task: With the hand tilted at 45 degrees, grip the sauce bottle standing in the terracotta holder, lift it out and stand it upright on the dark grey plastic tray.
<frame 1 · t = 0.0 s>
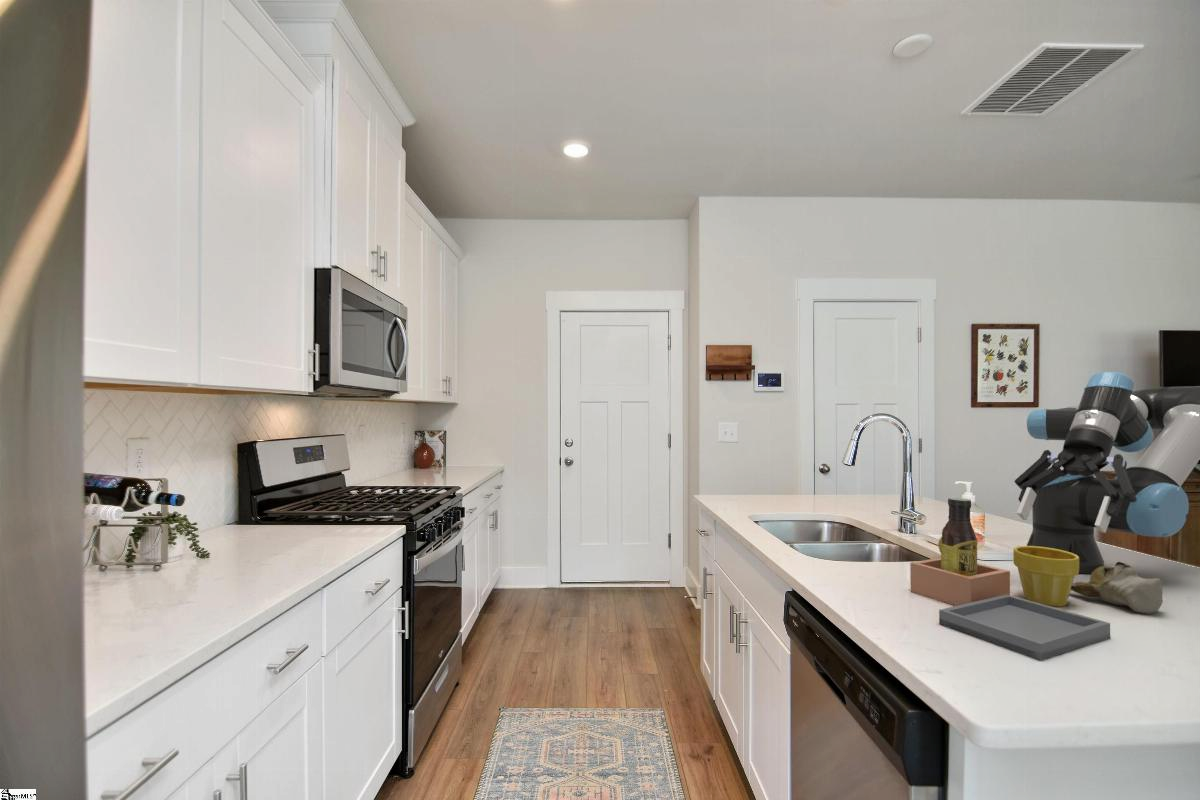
hand: (1058, 522, 114), 15 cm above the countertop, fingers open, 13 cm apart
lemon: (956, 564, 139), on the countertop
grey tray: (1022, 630, 97), on the countertop
terracotta holder: (959, 596, 115), on the countertop
sauce bottle: (959, 597, 115), resting in terracotta holder
ceramic sculpture: (1118, 605, 110), on the countertop
plant pot: (1045, 602, 112), on the countertop
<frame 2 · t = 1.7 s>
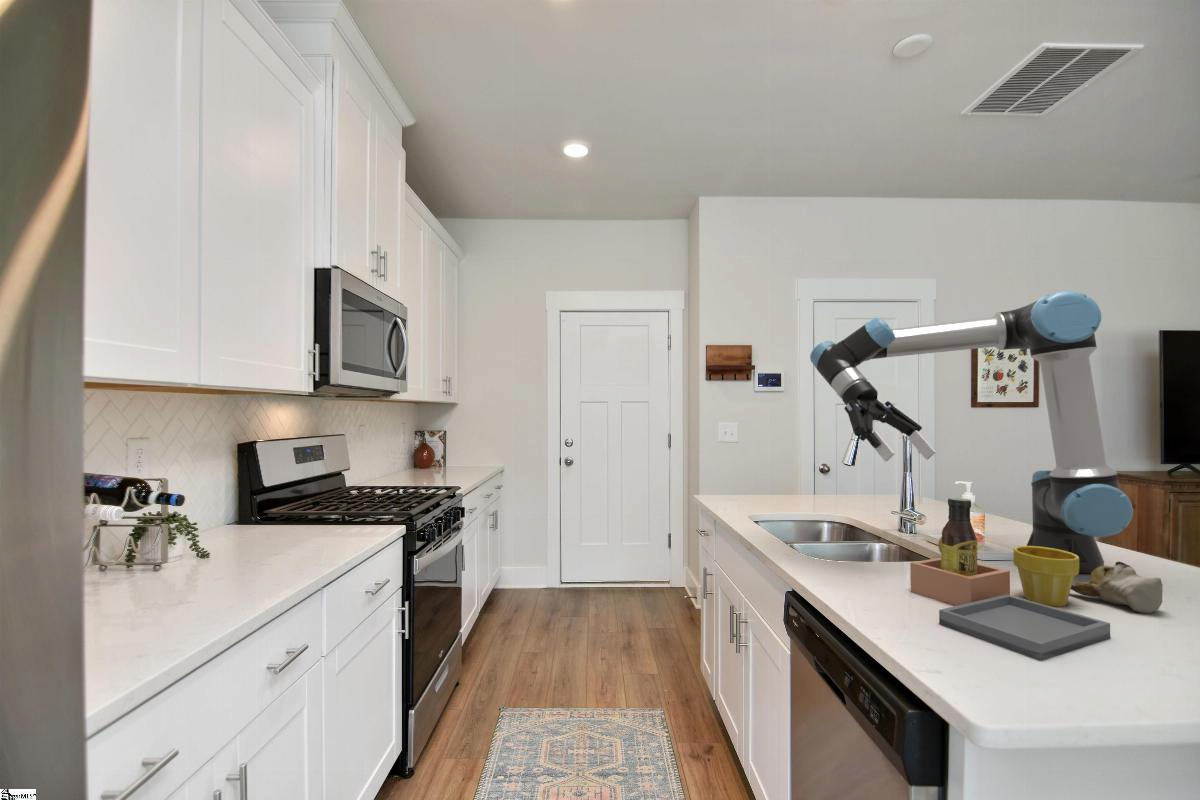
hand: (911, 456, 125), 28 cm above the countertop, fingers open, 13 cm apart
nothing on the countertop moved.
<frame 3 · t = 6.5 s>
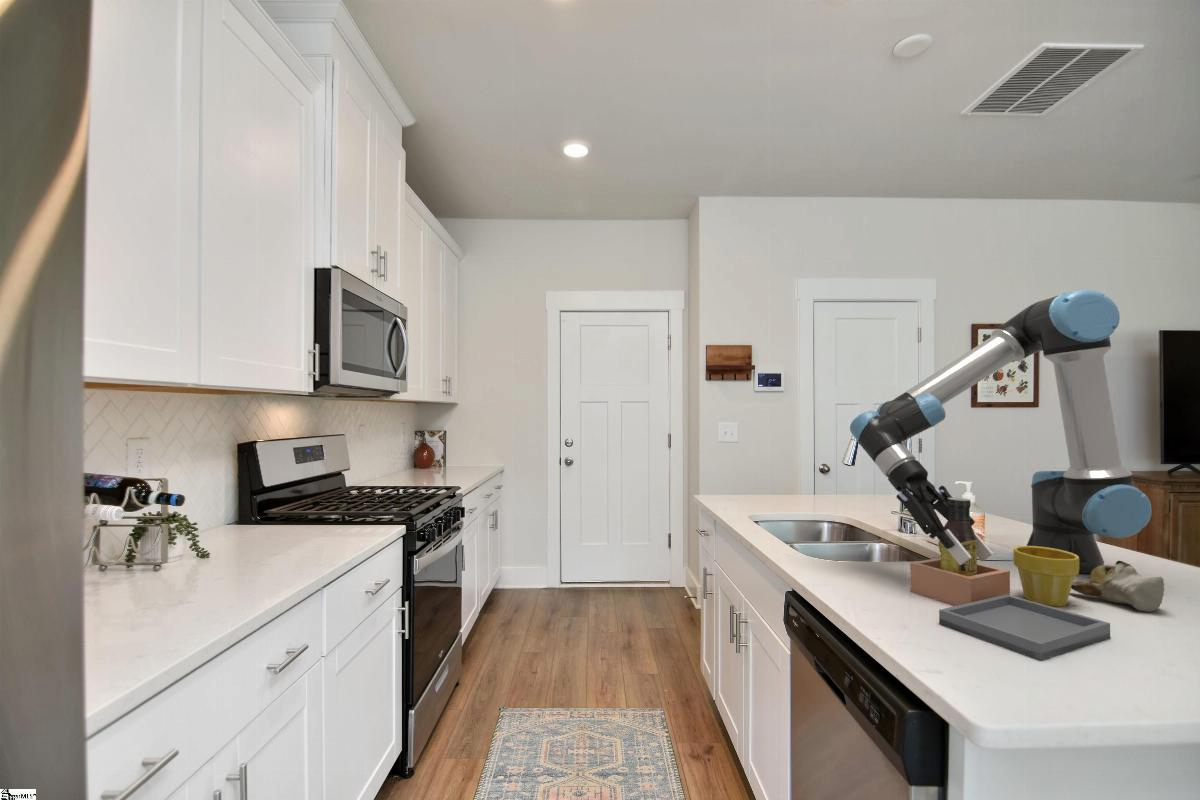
hand: (976, 559, 112), 8 cm above the countertop, fingers closed on sauce bottle, 6 cm apart
sauce bottle: (959, 597, 115), resting in terracotta holder, touching gripper
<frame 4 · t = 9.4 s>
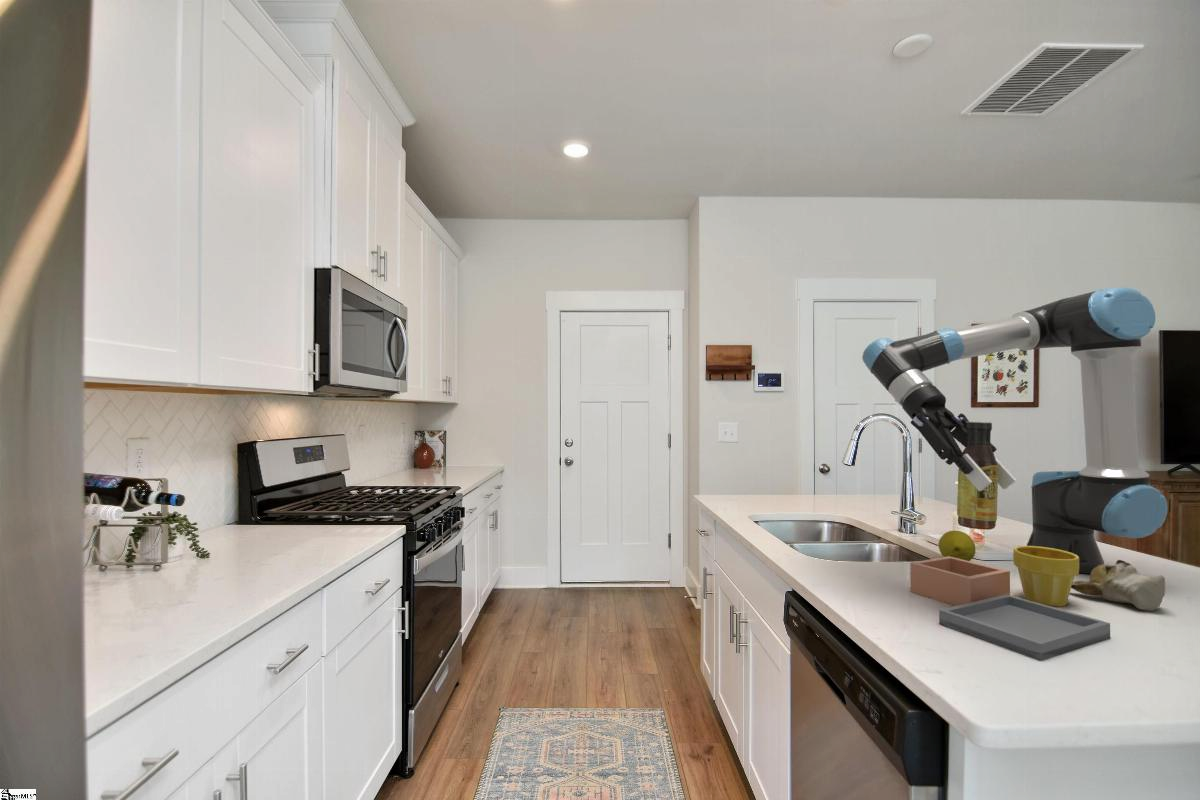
hand: (997, 485, 102), 24 cm above the countertop, fingers closed on sauce bottle, 6 cm apart
sauce bottle: (977, 528, 106), point 16 cm above the countertop, touching gripper
when the fingers open (11 cm above the countertop, at t = 12.7 s): sauce bottle drops 2 cm, resting on grey tray.
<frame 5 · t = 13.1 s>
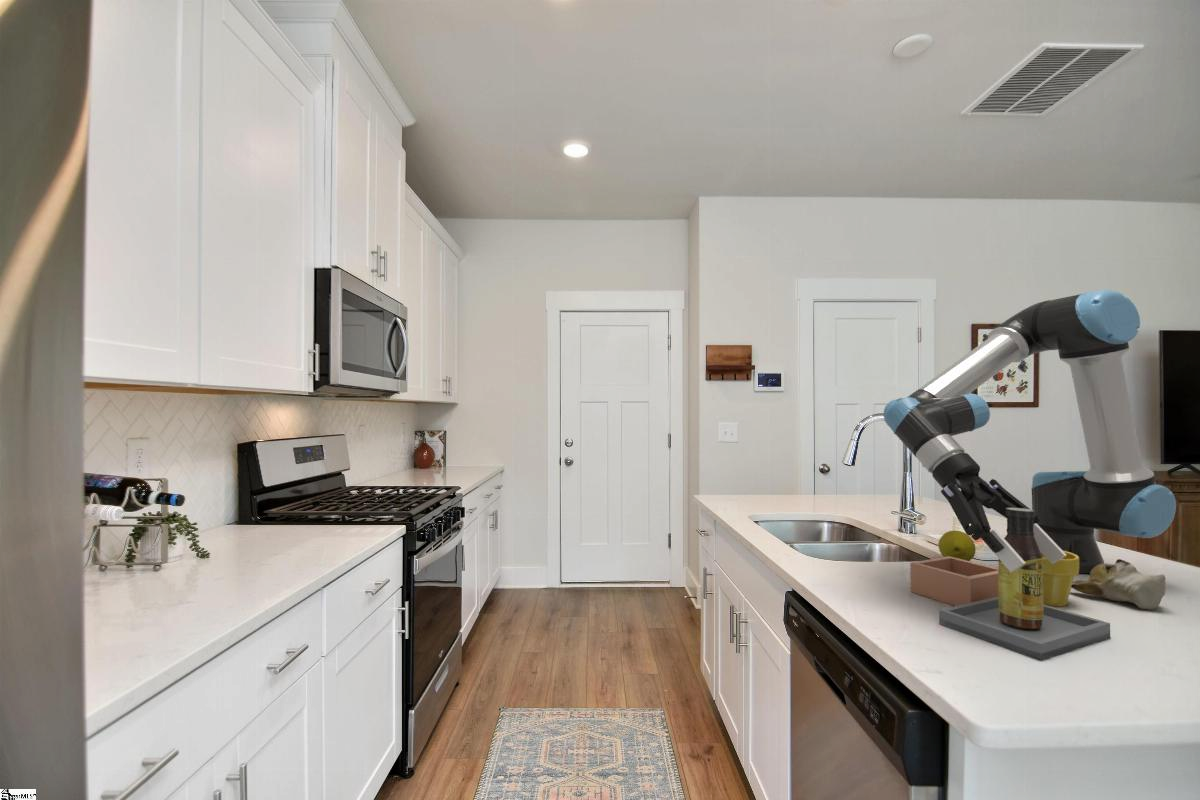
hand: (1039, 563, 95), 12 cm above the countertop, fingers open, 11 cm apart
sauce bottle: (1021, 625, 97), point 1 cm above the countertop, touching grey tray
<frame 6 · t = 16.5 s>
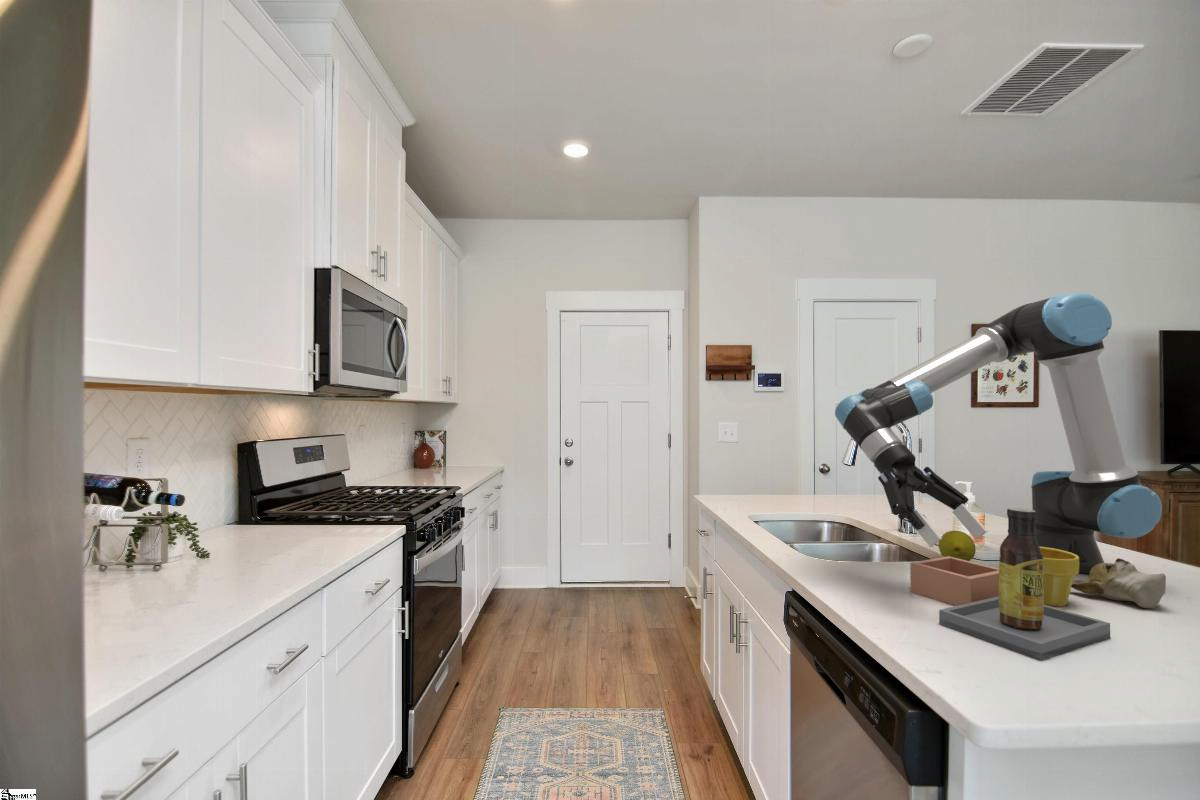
hand: (959, 539, 107), 14 cm above the countertop, fingers open, 13 cm apart
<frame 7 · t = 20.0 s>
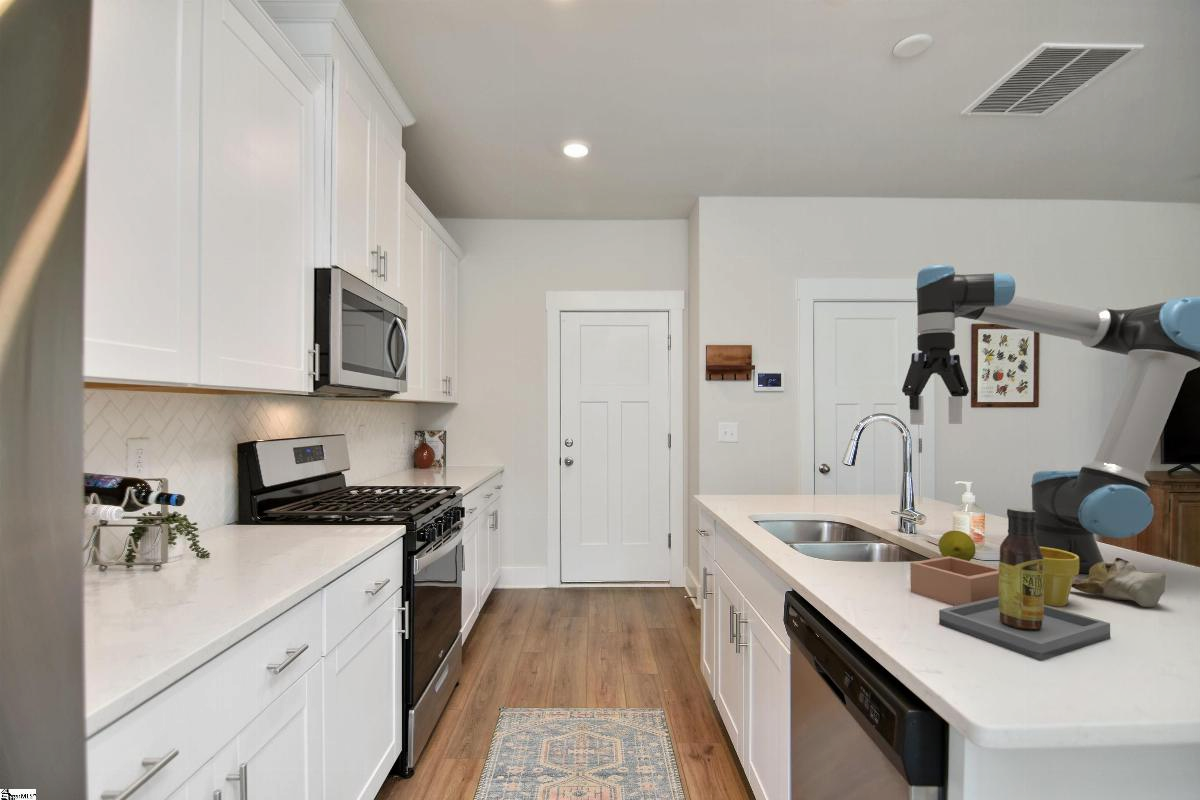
hand: (936, 424, 131), 35 cm above the countertop, fingers open, 13 cm apart
at the end: sauce bottle inside the target area on the grey tray (0.1 cm from its centre), point 0.8 cm above the grey tray's base; sauce bottle tilted 0°; the gripper is holding nothing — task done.
